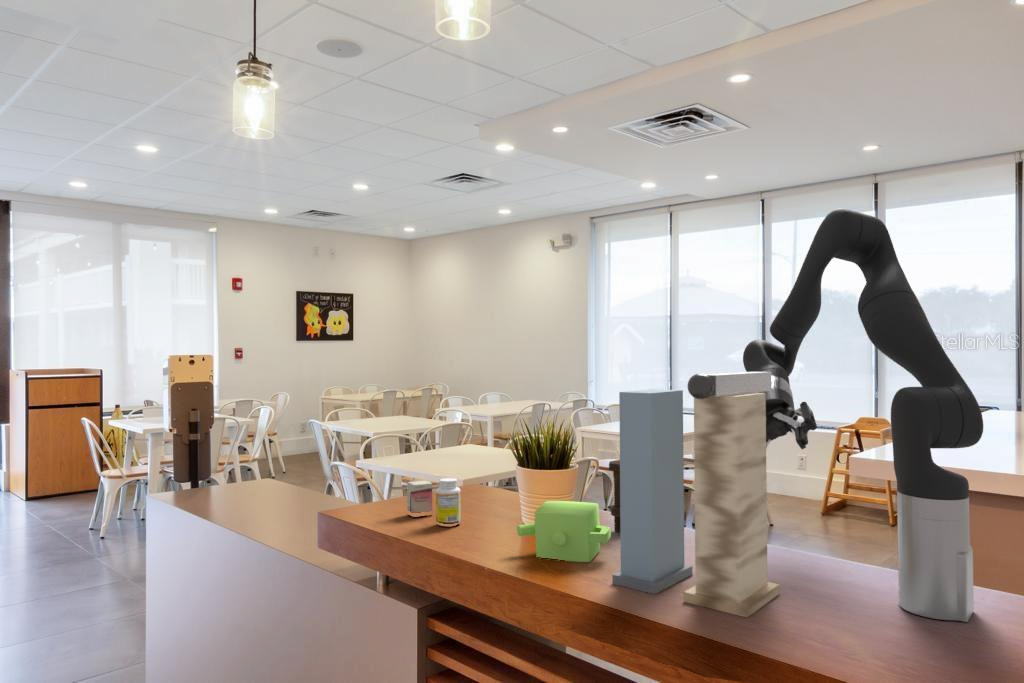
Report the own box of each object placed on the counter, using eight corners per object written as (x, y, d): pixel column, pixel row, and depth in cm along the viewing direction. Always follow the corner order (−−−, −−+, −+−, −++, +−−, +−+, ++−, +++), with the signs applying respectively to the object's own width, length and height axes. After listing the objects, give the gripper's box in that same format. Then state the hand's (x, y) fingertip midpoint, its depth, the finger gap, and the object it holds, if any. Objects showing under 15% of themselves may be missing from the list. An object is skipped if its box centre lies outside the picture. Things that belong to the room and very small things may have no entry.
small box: (413, 518, 162) (412, 484, 162) (406, 514, 166) (406, 481, 166) (433, 516, 165) (432, 482, 165) (426, 512, 168) (426, 480, 169)
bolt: (633, 535, 146) (632, 464, 146) (609, 534, 147) (608, 463, 147) (633, 528, 152) (633, 460, 152) (610, 527, 153) (610, 459, 153)
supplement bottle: (444, 521, 160) (444, 476, 160) (465, 523, 157) (465, 478, 157) (431, 526, 155) (431, 480, 155) (452, 529, 152) (452, 482, 152)
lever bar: (773, 392, 118) (773, 370, 118) (707, 400, 99) (707, 374, 99) (751, 391, 121) (751, 369, 121) (683, 399, 102) (682, 373, 102)
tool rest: (779, 593, 110) (777, 393, 111) (746, 617, 101) (744, 397, 101) (719, 580, 117) (717, 391, 117) (683, 601, 107) (681, 394, 108)
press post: (692, 574, 120) (690, 390, 121) (655, 594, 110) (653, 393, 111) (651, 565, 125) (650, 388, 126) (612, 583, 116) (611, 392, 116)
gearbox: (510, 561, 130) (508, 511, 130) (526, 545, 140) (524, 498, 140) (604, 568, 124) (602, 516, 124) (615, 551, 134) (613, 502, 133)
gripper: (817, 401, 134) (827, 454, 120) (750, 430, 141) (752, 483, 127) (797, 373, 132) (805, 423, 118) (730, 403, 139) (730, 454, 125)
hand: (778, 454), depth 123 cm, fingers open, 8 cm apart
